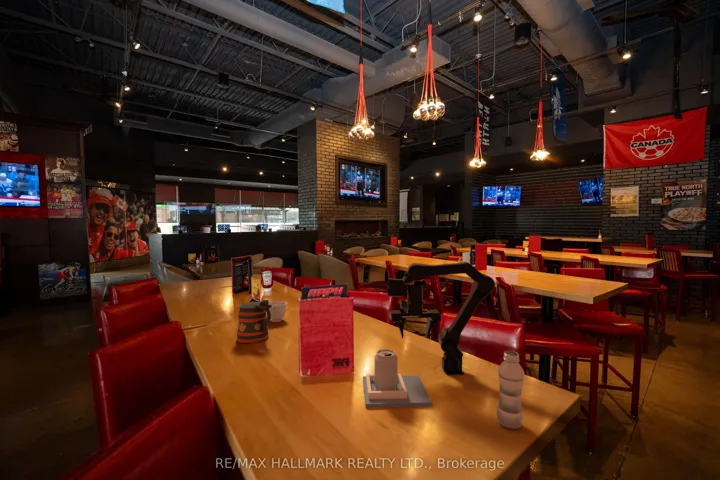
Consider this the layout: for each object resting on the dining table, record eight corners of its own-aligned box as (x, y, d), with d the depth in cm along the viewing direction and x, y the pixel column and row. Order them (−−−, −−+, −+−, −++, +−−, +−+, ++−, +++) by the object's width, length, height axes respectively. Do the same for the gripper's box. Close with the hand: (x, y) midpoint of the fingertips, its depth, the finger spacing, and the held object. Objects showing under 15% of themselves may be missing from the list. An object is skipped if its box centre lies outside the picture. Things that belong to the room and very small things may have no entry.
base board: (418, 378, 112) (418, 369, 112) (431, 406, 95) (431, 396, 95) (362, 379, 111) (362, 370, 111) (365, 407, 94) (365, 397, 94)
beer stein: (282, 336, 153) (281, 296, 152) (261, 347, 140) (260, 303, 139) (252, 331, 161) (251, 292, 160) (229, 340, 148) (229, 298, 147)
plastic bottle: (491, 418, 89) (493, 349, 88) (514, 417, 90) (516, 348, 89) (504, 433, 83) (505, 358, 82) (528, 432, 83) (530, 358, 82)
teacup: (259, 324, 171) (259, 306, 171) (271, 317, 186) (271, 300, 185) (280, 326, 169) (280, 307, 169) (290, 318, 184) (290, 301, 183)
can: (386, 396, 97) (387, 359, 97) (369, 387, 103) (369, 352, 102) (402, 388, 103) (402, 352, 102) (384, 380, 108) (385, 345, 107)
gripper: (433, 292, 126) (433, 330, 127) (387, 292, 125) (387, 331, 126) (442, 298, 115) (441, 340, 116) (391, 299, 114) (391, 341, 115)
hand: (414, 337), depth 119 cm, fingers open, 9 cm apart
